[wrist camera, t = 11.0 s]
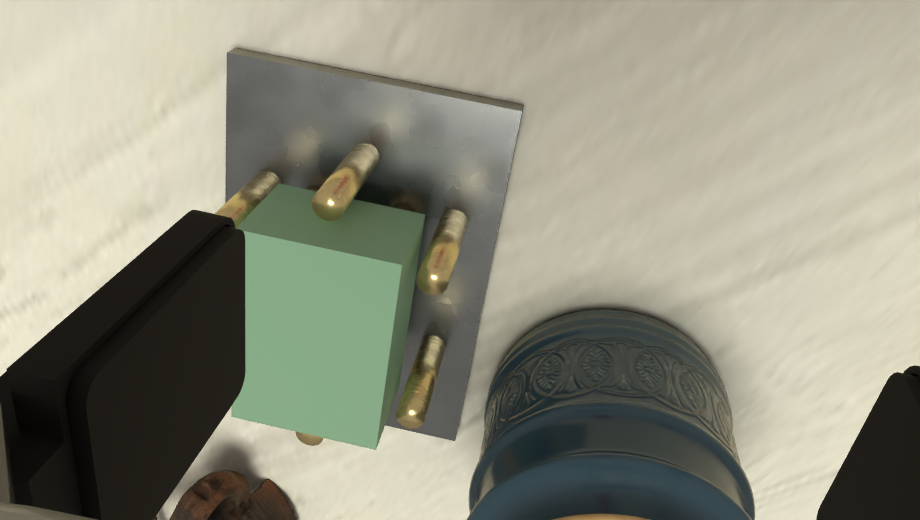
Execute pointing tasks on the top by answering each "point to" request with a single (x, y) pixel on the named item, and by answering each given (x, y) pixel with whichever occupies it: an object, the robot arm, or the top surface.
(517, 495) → the canister
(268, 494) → the brown curved shards
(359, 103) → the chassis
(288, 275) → the green boxy piece
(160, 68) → the top surface
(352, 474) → the top surface
